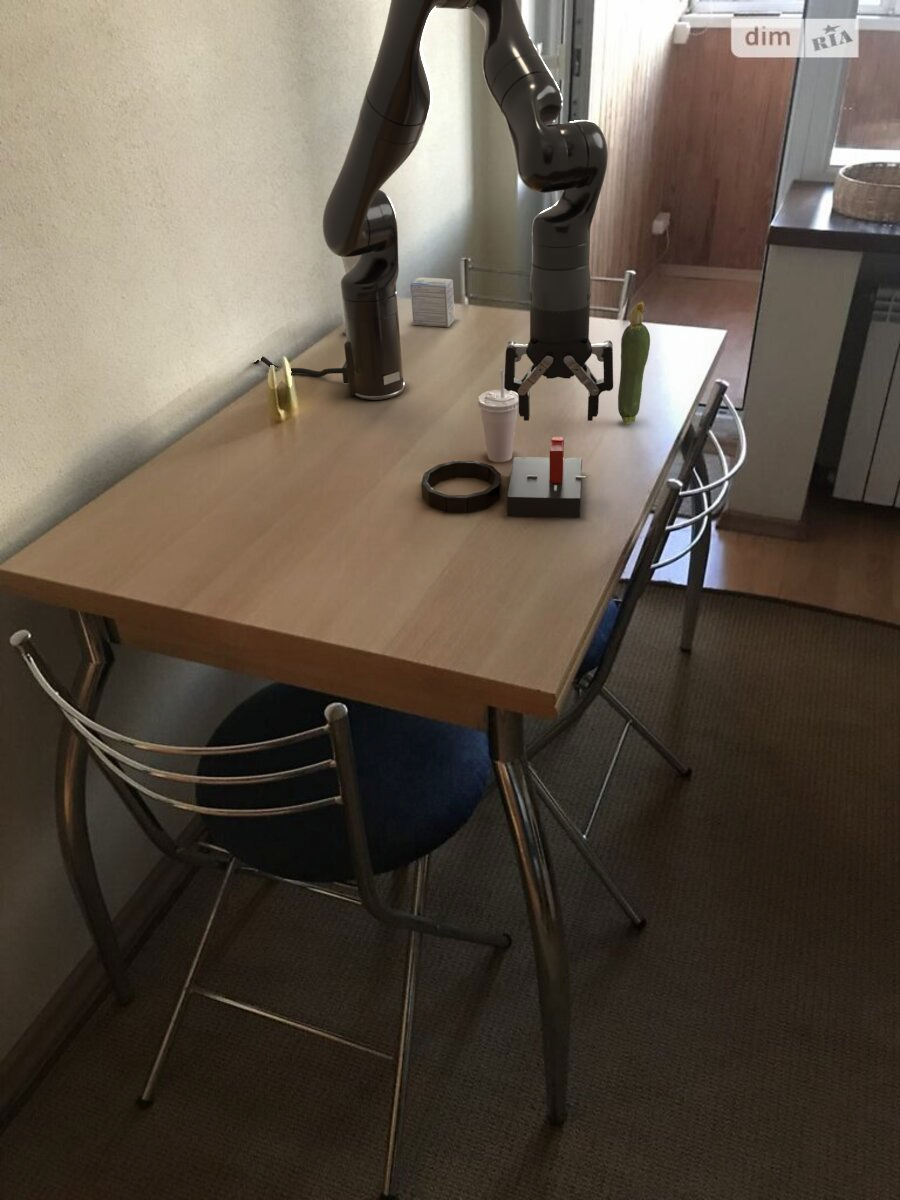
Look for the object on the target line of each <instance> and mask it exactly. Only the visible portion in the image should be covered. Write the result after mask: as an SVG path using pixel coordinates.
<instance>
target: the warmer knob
mask: <svg viewBox="0 0 900 1200" xmlns="http://www.w3.org/2000/svg"><path fill="white" fill-rule="evenodd" d="M549 444H550V445H549V458H550V472H549V483H562V481H563V461H564V458H565V457H564V455H565V454H564V453H565V438H564V437H562V436H551V438H550V443H549Z"/></svg>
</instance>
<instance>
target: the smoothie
mask: <svg viewBox="0 0 900 1200" xmlns="http://www.w3.org/2000/svg"><path fill="white" fill-rule="evenodd" d="M499 371H500V373H499V375H500V377H499V378H500V380H499V381H500V389H492V390H491V389H490V390H487V391H485V392H483V393H481V394H480V395H479V396H478V397H477V407H478V408H479V409H480V416H481V422H482V428H483V434H484V440H485V447H486V453H487V454H486V455H487V458H488V460H489V461H490V462H494V463H505V462H508V461H511V459H512V458H513V451H514V444H515V436H516V435H515V434H516V427H517V421H518V420H517V419H518V413H519V397H518V394H517V393H516V392H514V391H507V390H505V388H504V380H505V368H504V369H503V368H502V369H501V368H500V370H499Z"/></svg>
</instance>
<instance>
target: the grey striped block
mask: <svg viewBox="0 0 900 1200" xmlns="http://www.w3.org/2000/svg"><path fill="white" fill-rule="evenodd" d="M409 289H410V299H411V300H410V301H411V313H412V325H413V326H428V327H429V326H430V327H440V328H441V327H445V328H449V327H450V326H451V325H452V324H453V322H455V321H456V312H455V295H454V280H453V278H452V279H451V278H438V277H437V278H436V277H416V279H414V280H413V281H412V282H411V283H410V284H409Z"/></svg>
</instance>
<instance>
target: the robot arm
mask: <svg viewBox="0 0 900 1200" xmlns="http://www.w3.org/2000/svg"><path fill="white" fill-rule="evenodd" d="M435 9H449V10H469V11H471V13H472V14H473V15H474V16H475V17H476V18H477V19H478V21H479V22H480V24H481V26H482V27H483V30H484V31H485V33H484V45H483V49H482V57H481V66H482V74H483V79H484V81H485V84H486V87H487V89H488V92H489V94H490V95H491V97H492V100H493V101H494V102H495V105H496V106H497V108H498V109H499V111H500V113H501V115H502V117H503V119H504V121H505V122H506V126H507V130H508V134H509V139H510V142H511V143H510V144H511V146H512V147H511V148H512V151H513V156H514V158H513V159H514V163H515V168H516V172H517V175H518V177H519V179H520V181H521V182H522V184H524V186H526V187H527V188H528V189H529V190H531V191H532V192H534V193H537V194H549V193H554V192H560V191H561V194H560V196H559V198H558V200H557V202H556V203H555V204H554V205H552V206H551V207H549V208H547V209H545V210H543V211H541V212H540V213H538V214H537V215H536V216H535V217H534V218H533V220H532V225H531V270H530V279H529V293H528V299H529V341H528V343H527V344H522V343H521V344H520V343H516V341H513V340H510V341H508V342H507V344H506V348H505V361H504V362H505V363H504V390H507V391H513V392H515V393H517V394H518V397H519V407H518V416H519V417H521V418H522V417H523V421H525V422H526V421H527V422H528V421H530V417H531V415H530V414H531V396H530V395H531V394H530V391H531V388H532V387H533V386H534V385H535V384H536V383H537V382H538V381H539V380H540V378H541V377H542V376H543V377H546V379H556V378H561V379H571V378H573V377H574V376H575V377H576V379H577V380H578V381H579V383H580V385H583V386H584V387H585V389H586V390H587V392H588V394H587V395H588V396H587V422H594V421H593V420H594V418H596V417H598V414H599V405H600V404H599V402H600V395H601V394H602V393H603V392H606V391H607V392H611V391H612V390H613V389H614V350H613V349H614V347H613V346H614V345H613V342H612V340H609V339H607V340H605V341H604V342H603V343H594V344H592V343H591V341H590V311H591V297H592V294H591V283H592V282H591V270H590V251H591V250H590V247H591V246H590V245H591V227H592V223H593V219H594V216H595V214H596V209H597V205H598V201H599V198H600V195H601V191H602V188H603V184H604V181H605V177H606V172H607V170H608V169H607V168H608V161H609V151H608V143H607V140H606V137H605V134H604V132H603V131H602V129H601V128H600V126H599V125H597V124H596V123H595V122H594V121H591V120H589V119H588V120H587V119H581V120H574V121H569V122H568V121H567V122H562V123H554V122H555V121H556V120H557V118H558V117H559V115H560V114H561V111H562V108H563V96H562V93H561V90H560V88H559V86H558V84H557V82H556V81H555V79H554V77H553V75H552V73H551V71H550V70H549V68H548V66H547V65H546V64H545V63H546V62H545V61H544V60H543V58H542V56H541V55H540V53H539V51H538V50H537V48H536V46H535V44H534V42H533V40H532V39H531V36H530V34H529V31H528V29H527V27H526V25H525V21H524V19H523V16H522V13H521V10H520V7H519V4H518V1H517V0H390V5H389V10H388V15H387V19H386V22H385V23H386V24H385V26H384V31H383V36H382V39H381V42H380V46H379V49H378V53H377V56H376V59H375V63H374V66H373V70H372V73H371V76H370V77H369V80H368V84H367V87H366V90H365V93H364V96H363V100H362V103H361V105H360V111H359V114H358V119H357V121H356V125H355V128H354V131H353V135H352V138H351V140H350V143H349V147H348V149H347V152H346V156H345V158H344V161H343V164H342V166H341V169H340V172H339V173H338V176H337V178H336V180H335V182H334V185H333V187H332V189H331V192H330V194H329V196H328V199H327V201H326V203H325V206H324V209H323V215H322V234H323V238H324V241H325V244H326V246H327V248H328V249H329V250H330V252H331V253H333V254H334V255H336V256H338V257H341V258H342V257H353V256H358V255H360V258H359V260H358V261H357V263H356V264H355V266H354V267H353V268H352V269H351V270H350V271H348V272H347V273H346V272H345V274H344V275H343V276H342V278H341V280H340V292H341V301H342V302H341V303H342V310H343V319H344V327H345V331H346V335H345V336H346V340H345V342H344V344H343V348H344V349H343V350H344V356H345V357H344V358H345V362H344V363H343V365H342V367H330V368H324V369H322V370H312V369H309V368H303V367H290V368H291V371H292V373H291V374H302V375H307V376H312V377H324V376H327V375H331V374H332V375H333V374H342V381H343V384H348V391H349V396H350V397H356V398H358V399H361V400H368V401H378V400H387V399H390V398H391V399H392V398H394V397H396V396H398V395H400V394H402V393H403V392H405V391H404V390H405V388H406V386H405V379H404V370H403V369H404V367H403V357H402V356H403V355H402V343H401V331H400V320H399V318H400V317H399V311H398V310H399V308H398V296H397V281H398V278H399V272H400V271H399V270H400V268H399V267H400V266H399V234H398V220H397V215H396V211H395V208H394V205H393V203H392V201H391V199H390V197H389V196H388V194H387V193H386V192H385V191H384V190H381V188H382V187H383V186H384V185H385V184H386V182H388V180H389V179H390V178H391V177H392V176H393V175H394V173H396V172H397V171H398V169H400V167H401V166H402V165H403V164H404V163H405V162H406V160H407V159H408V158H409V157H410V156H411V154H412V153H413V152H414V150H415V148H416V147H417V145H418V143H419V141H420V139H421V136H422V134H423V131H424V128H425V126H426V123H427V120H428V117H429V115H430V112H431V109H432V104H433V91H432V84H431V80H430V74H429V71H428V67H427V65H426V64H427V63H426V61H425V58H424V53H423V52H424V51H423V39H424V34H425V30H426V26H427V23H428V20H429V18H430V16H431V14H432V12H433V11H434V10H435ZM553 123H554V124H553ZM524 355H526V356H527V358H528V359H529V360H530V362H531V363H532V365H530V367H529V369H527V372H526V373H525V375H524V376H523V377H521V379H518V378H516V364H517V363H519V362H520V361H521V360H522V357H523V356H524ZM592 355H595V356H596V359H597V361H599V362H601V363H603V364H602V365H603V378H599V379H597V378H596V376H595V374H593V372H592V371H591V369H590V367H589V366H588V365H587V361H588V360H589V359H590V358H591V356H592ZM261 356H262V358H261V361H259V360H257V361H256V362H254V363H253V362H252V364H253V365H257V364H259V363H260V362H261V363H263V364H265V365H266V366H267V367H268V368H270V365H274V366H275V367H277V368H278V367H279V366H278V365H276V364H274V363H273V362H272V361H270V360H269V359H268V358H267V357H265V356H264V355H261Z"/></svg>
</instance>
